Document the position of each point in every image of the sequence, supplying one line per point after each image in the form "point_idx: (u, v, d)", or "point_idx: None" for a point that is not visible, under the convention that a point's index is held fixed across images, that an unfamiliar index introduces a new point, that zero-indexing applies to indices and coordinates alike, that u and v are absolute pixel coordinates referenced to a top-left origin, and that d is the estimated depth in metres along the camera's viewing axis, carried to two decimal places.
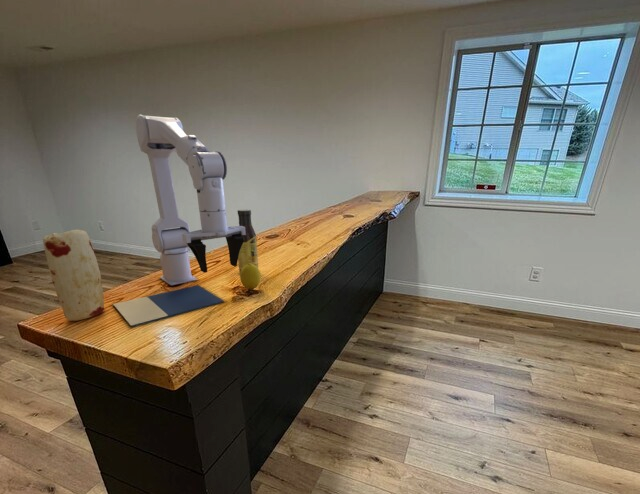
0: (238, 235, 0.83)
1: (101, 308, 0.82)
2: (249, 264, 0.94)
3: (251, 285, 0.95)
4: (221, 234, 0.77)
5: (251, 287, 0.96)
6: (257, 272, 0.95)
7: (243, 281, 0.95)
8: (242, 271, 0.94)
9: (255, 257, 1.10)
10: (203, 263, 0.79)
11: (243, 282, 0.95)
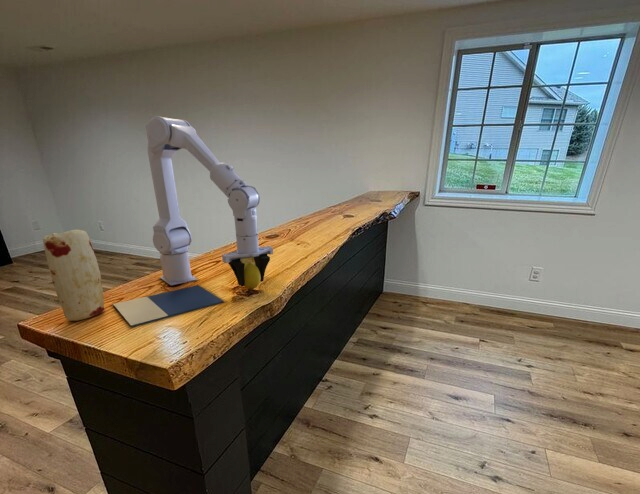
0: (264, 255, 0.96)
1: (101, 308, 0.82)
2: (249, 264, 0.95)
3: (251, 285, 0.95)
4: (254, 255, 0.91)
5: (251, 287, 0.96)
6: (257, 272, 0.95)
7: None
8: None
9: None
10: (241, 278, 0.93)
11: None
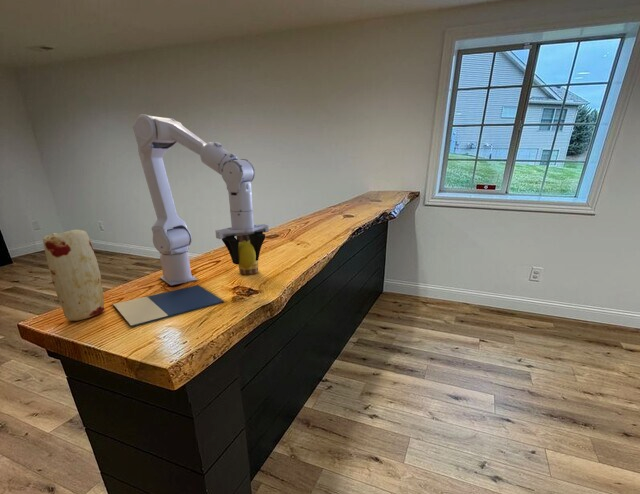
0: (260, 232, 0.94)
1: (101, 308, 0.82)
2: (244, 241, 0.92)
3: (246, 263, 0.92)
4: (249, 231, 0.88)
5: (246, 265, 0.93)
6: (252, 250, 0.92)
7: None
8: None
9: None
10: (236, 256, 0.90)
11: None
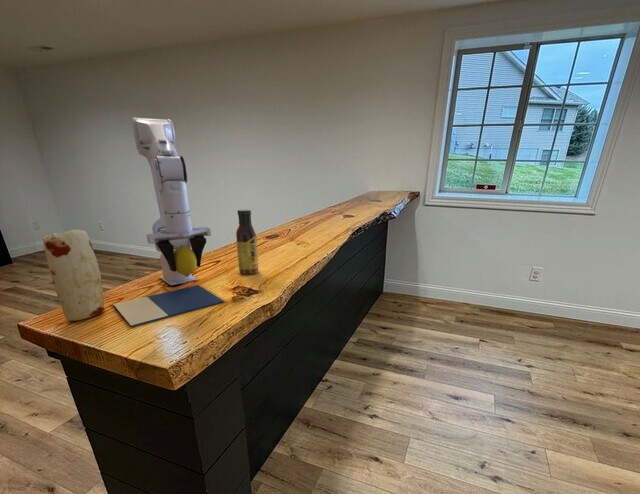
0: (200, 236, 0.85)
1: (101, 308, 0.82)
2: (182, 246, 0.83)
3: (184, 270, 0.84)
4: (185, 235, 0.80)
5: (185, 273, 0.84)
6: (191, 255, 0.84)
7: None
8: (174, 254, 0.83)
9: (255, 257, 1.10)
10: (172, 262, 0.82)
11: None
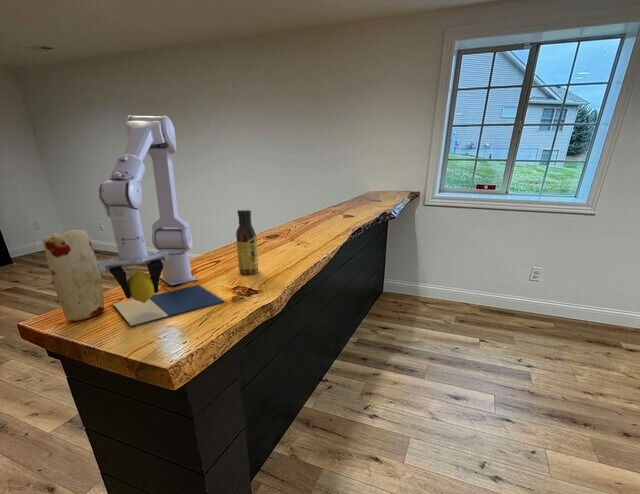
0: (157, 261, 0.82)
1: (101, 308, 0.82)
2: (137, 272, 0.80)
3: (139, 297, 0.80)
4: (137, 262, 0.76)
5: (140, 299, 0.81)
6: (147, 282, 0.80)
7: (130, 292, 0.80)
8: (128, 281, 0.79)
9: (255, 257, 1.10)
10: (125, 290, 0.78)
11: (130, 294, 0.80)
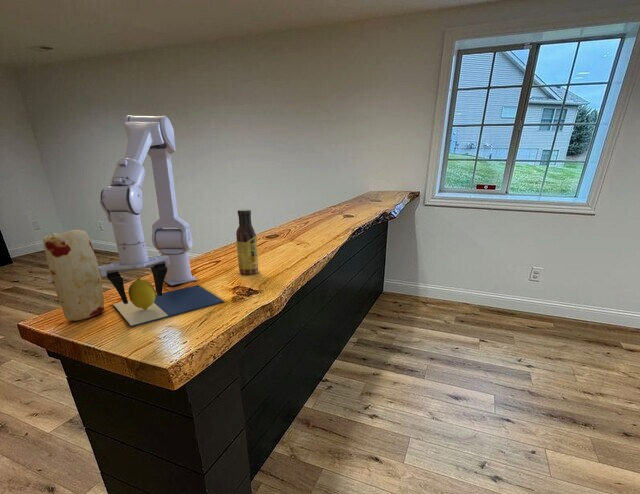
0: (161, 265, 0.83)
1: (101, 308, 0.82)
2: (138, 280, 0.80)
3: (141, 304, 0.81)
4: (138, 267, 0.76)
5: (142, 306, 0.82)
6: (148, 289, 0.81)
7: (131, 300, 0.80)
8: (129, 288, 0.80)
9: (255, 257, 1.10)
10: (122, 295, 0.78)
11: (131, 301, 0.81)
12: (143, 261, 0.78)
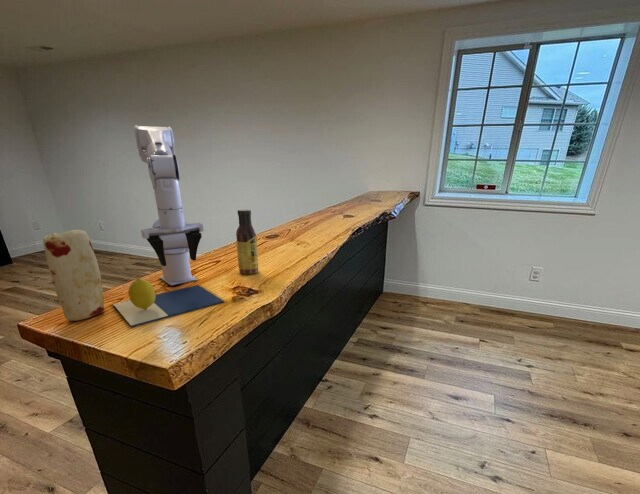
0: (196, 231, 0.90)
1: (101, 308, 0.82)
2: (138, 280, 0.80)
3: (141, 304, 0.81)
4: (177, 230, 0.83)
5: (142, 306, 0.82)
6: (148, 289, 0.81)
7: (131, 300, 0.80)
8: (129, 288, 0.80)
9: (255, 257, 1.10)
10: (162, 257, 0.85)
11: (132, 301, 0.81)
12: (181, 226, 0.85)
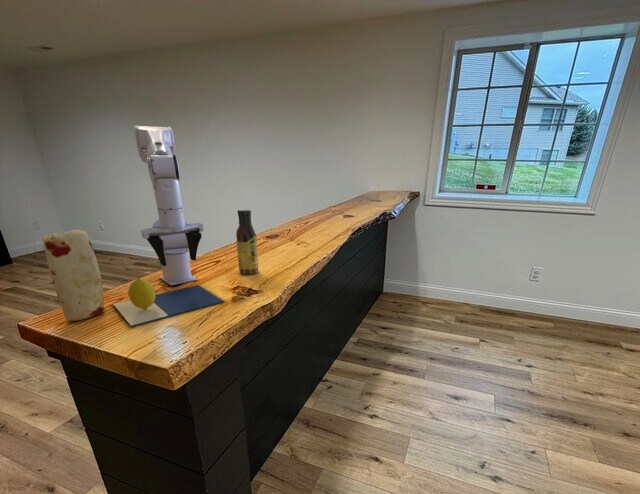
0: (196, 231, 0.90)
1: (101, 308, 0.82)
2: (138, 280, 0.80)
3: (141, 304, 0.81)
4: (177, 230, 0.83)
5: (142, 306, 0.82)
6: (148, 289, 0.81)
7: (131, 300, 0.80)
8: (130, 288, 0.80)
9: (255, 257, 1.10)
10: (162, 257, 0.85)
11: (132, 301, 0.81)
12: (181, 226, 0.85)
